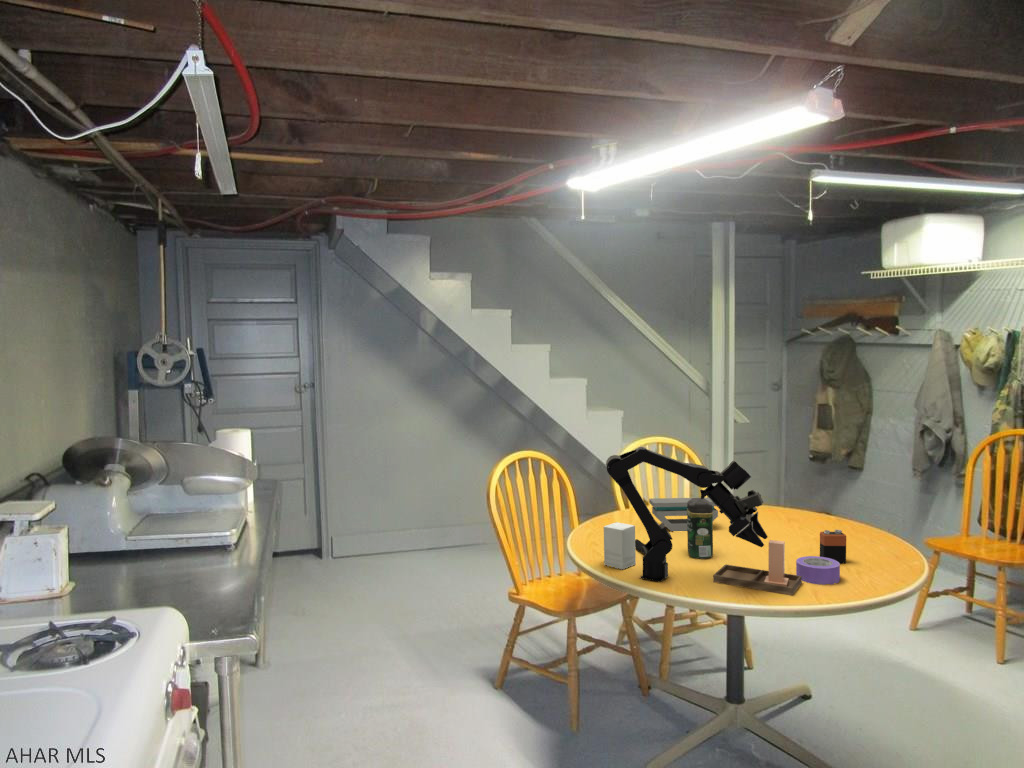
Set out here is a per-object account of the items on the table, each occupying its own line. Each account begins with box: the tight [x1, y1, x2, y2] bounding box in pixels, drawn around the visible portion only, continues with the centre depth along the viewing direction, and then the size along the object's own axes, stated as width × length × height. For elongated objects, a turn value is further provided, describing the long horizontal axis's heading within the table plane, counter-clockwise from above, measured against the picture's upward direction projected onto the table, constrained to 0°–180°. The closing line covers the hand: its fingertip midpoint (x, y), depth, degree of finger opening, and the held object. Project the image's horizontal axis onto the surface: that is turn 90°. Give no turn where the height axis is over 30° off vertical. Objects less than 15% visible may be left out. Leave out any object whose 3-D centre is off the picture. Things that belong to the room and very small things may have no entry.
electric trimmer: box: [635, 538, 646, 556], centre depth 238 cm, size 4×16×3 cm, turn 9°
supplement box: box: [603, 521, 637, 570], centre depth 225 cm, size 7×7×13 cm
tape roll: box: [795, 555, 841, 586], centre depth 210 cm, size 12×12×5 cm
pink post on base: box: [764, 539, 789, 587], centre depth 203 cm, size 6×6×12 cm
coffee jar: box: [686, 497, 714, 560], centre depth 234 cm, size 10×8×19 cm
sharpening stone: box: [648, 497, 719, 532], centre depth 268 cm, size 25×8×11 cm, turn 90°
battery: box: [819, 529, 847, 564], centre depth 225 cm, size 4×7×10 cm, turn 85°
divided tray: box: [712, 564, 803, 596], centre depth 206 cm, size 22×12×2 cm, turn 57°
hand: (764, 542), depth 204 cm, fingers open, 9 cm apart
